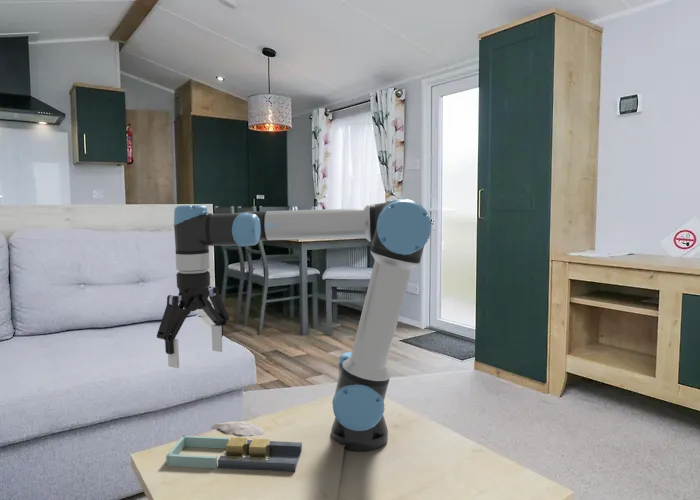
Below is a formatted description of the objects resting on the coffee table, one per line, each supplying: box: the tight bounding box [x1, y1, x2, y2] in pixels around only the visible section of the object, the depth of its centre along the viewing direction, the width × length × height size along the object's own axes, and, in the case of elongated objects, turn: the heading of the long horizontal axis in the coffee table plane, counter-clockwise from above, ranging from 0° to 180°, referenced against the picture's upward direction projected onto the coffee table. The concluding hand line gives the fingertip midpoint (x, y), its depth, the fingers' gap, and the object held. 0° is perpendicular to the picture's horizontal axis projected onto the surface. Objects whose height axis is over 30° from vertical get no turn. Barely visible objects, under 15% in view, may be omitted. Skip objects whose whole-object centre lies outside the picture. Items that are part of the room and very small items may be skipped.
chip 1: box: [225, 437, 248, 457], centre depth 121 cm, size 4×4×4 cm
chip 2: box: [249, 438, 270, 458], centre depth 121 cm, size 4×4×4 cm
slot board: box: [217, 439, 303, 473], centre depth 121 cm, size 18×10×3 cm, turn 86°
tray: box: [165, 435, 230, 469], centre depth 122 cm, size 12×10×3 cm
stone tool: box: [211, 420, 265, 437], centre depth 136 cm, size 8×3×15 cm
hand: (196, 358), depth 120 cm, fingers open, 13 cm apart
